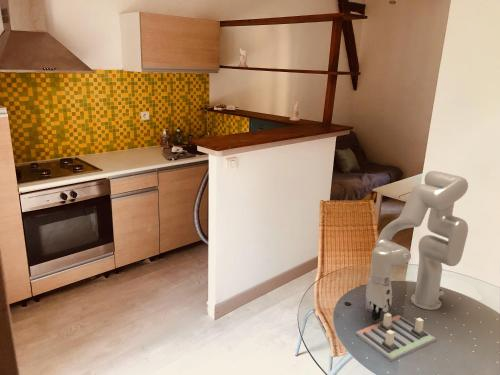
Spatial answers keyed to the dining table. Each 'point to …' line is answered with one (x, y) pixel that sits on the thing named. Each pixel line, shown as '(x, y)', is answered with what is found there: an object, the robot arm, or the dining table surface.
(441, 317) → the dining table surface
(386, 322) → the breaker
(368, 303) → the energy drink
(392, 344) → the breaker
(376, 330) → the panel board
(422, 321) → the block
